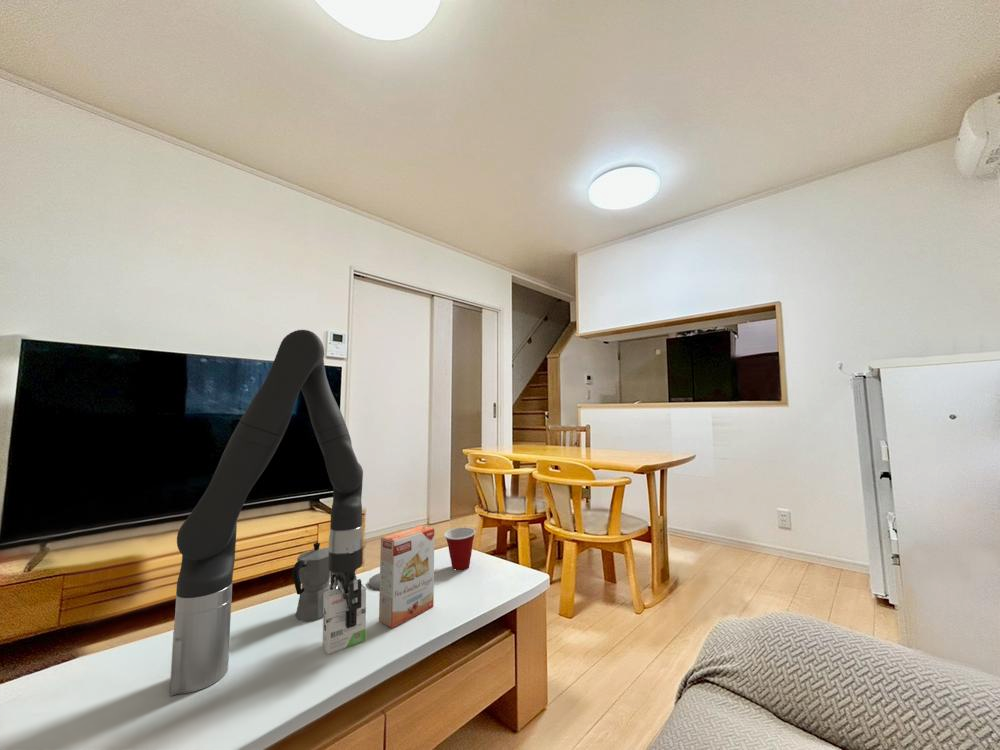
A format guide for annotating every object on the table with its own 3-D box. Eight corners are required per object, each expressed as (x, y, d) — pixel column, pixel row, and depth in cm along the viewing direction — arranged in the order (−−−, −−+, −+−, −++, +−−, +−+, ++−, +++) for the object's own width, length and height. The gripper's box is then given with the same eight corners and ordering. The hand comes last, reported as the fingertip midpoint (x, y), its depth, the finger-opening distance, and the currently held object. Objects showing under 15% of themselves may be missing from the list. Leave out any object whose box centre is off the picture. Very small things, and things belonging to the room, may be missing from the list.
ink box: (359, 632, 94) (360, 580, 95) (366, 641, 90) (366, 587, 91) (321, 644, 89) (323, 590, 90) (326, 655, 85) (327, 598, 86)
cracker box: (393, 630, 94) (393, 540, 97) (378, 622, 98) (379, 536, 100) (435, 607, 105) (435, 527, 108) (420, 601, 109) (420, 524, 111)
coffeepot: (315, 600, 111) (317, 534, 113) (345, 602, 109) (346, 536, 111) (274, 629, 96) (277, 553, 98) (308, 632, 94) (310, 555, 96)
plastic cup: (437, 569, 132) (437, 532, 133) (460, 559, 140) (460, 525, 141) (459, 576, 125) (459, 538, 126) (482, 566, 133) (482, 530, 134)
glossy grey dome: (378, 593, 114) (378, 590, 114) (363, 581, 123) (363, 577, 123) (415, 582, 122) (415, 578, 122) (398, 571, 131) (398, 567, 131)
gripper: (320, 543, 95) (318, 613, 93) (339, 558, 84) (337, 638, 82) (351, 536, 99) (350, 603, 98) (373, 550, 89) (372, 625, 87)
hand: (344, 619), depth 90 cm, fingers open, 8 cm apart
